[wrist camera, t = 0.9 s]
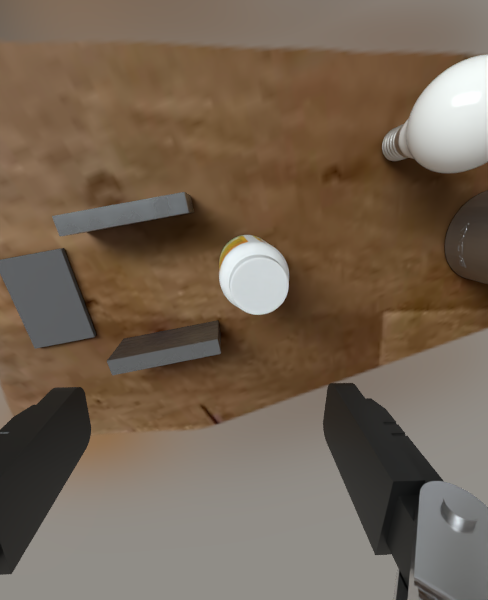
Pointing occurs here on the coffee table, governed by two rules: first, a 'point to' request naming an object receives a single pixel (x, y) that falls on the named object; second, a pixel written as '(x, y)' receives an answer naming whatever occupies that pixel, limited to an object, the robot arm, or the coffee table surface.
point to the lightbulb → (447, 121)
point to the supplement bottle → (253, 275)
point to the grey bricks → (160, 344)
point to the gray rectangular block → (47, 297)
